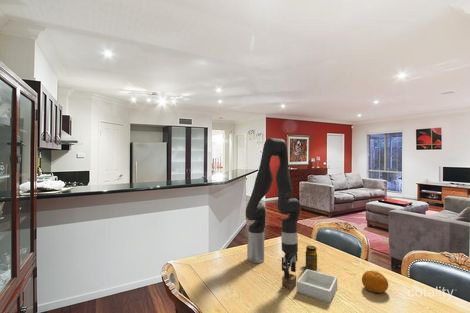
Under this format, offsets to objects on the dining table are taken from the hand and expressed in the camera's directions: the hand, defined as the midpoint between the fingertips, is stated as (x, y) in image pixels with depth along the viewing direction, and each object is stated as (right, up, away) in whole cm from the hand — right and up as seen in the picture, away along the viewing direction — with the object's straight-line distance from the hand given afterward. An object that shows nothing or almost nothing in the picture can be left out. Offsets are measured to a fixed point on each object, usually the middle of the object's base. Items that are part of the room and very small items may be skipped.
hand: (290, 275), depth 114 cm
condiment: (+15, -6, +18) cm, 24 cm away
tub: (+12, -5, -3) cm, 13 cm away
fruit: (+38, -6, -3) cm, 39 cm away
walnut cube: (0, -6, 0) cm, 6 cm away
